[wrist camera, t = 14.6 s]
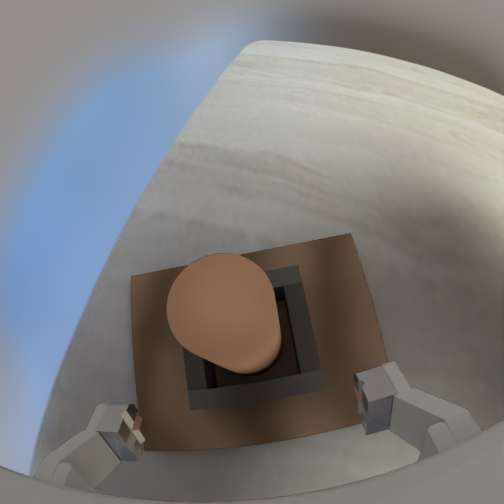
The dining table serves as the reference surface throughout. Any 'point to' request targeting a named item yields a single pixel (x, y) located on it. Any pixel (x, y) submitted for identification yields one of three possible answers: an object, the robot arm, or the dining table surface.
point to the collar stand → (276, 379)
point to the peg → (226, 314)
